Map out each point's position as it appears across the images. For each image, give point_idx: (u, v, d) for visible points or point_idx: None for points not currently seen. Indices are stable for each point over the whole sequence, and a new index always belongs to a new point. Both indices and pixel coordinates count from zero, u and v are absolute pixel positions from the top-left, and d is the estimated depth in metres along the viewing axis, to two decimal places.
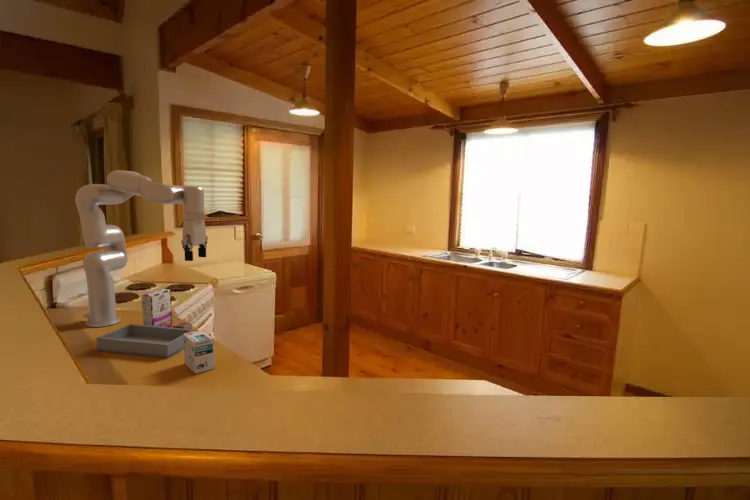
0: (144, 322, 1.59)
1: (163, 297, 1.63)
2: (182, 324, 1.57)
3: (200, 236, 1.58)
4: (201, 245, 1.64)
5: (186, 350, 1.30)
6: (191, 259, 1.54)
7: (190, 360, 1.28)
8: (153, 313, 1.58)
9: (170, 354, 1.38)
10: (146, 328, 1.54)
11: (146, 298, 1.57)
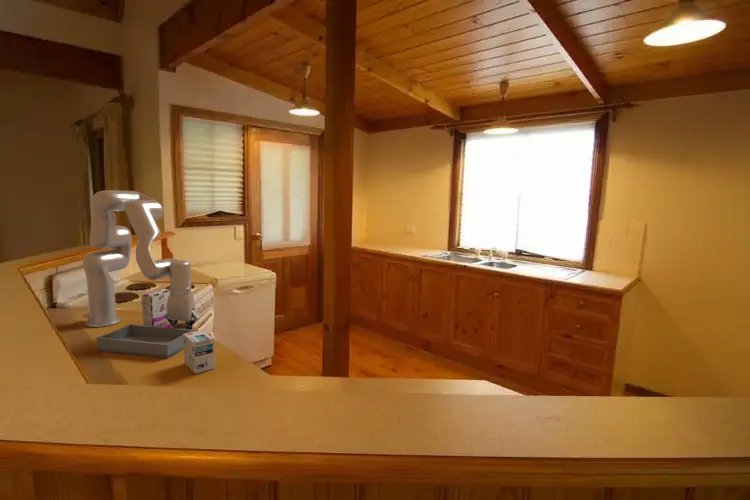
0: (144, 322, 1.59)
1: (163, 297, 1.63)
2: (182, 324, 1.57)
3: None
4: None
5: (186, 350, 1.30)
6: None
7: (190, 360, 1.28)
8: (153, 313, 1.58)
9: (170, 354, 1.38)
10: (146, 328, 1.54)
11: (146, 298, 1.57)
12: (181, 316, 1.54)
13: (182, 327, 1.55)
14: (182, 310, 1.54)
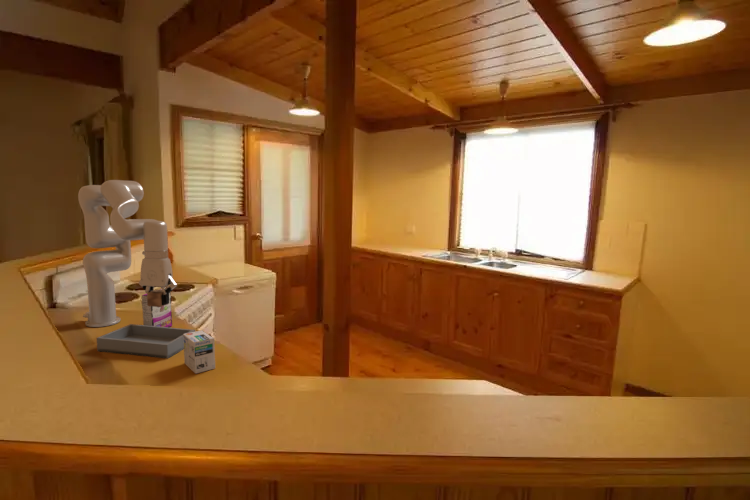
0: (144, 322, 1.59)
1: None
2: (158, 291, 1.43)
3: None
4: None
5: (186, 350, 1.30)
6: (168, 301, 1.44)
7: (190, 360, 1.28)
8: (153, 313, 1.58)
9: (170, 354, 1.38)
10: (146, 328, 1.54)
11: (146, 298, 1.57)
12: (156, 282, 1.39)
13: (158, 294, 1.40)
14: (157, 275, 1.39)
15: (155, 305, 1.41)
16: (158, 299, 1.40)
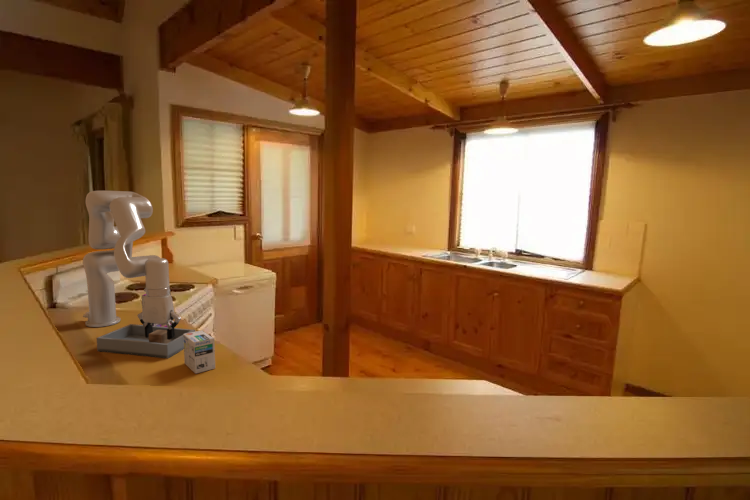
0: None
1: None
2: (159, 332, 1.45)
3: None
4: None
5: (186, 350, 1.30)
6: (173, 335, 1.46)
7: (190, 360, 1.28)
8: None
9: (170, 354, 1.38)
10: None
11: None
12: (158, 319, 1.41)
13: (159, 336, 1.42)
14: (159, 312, 1.41)
15: None
16: (160, 340, 1.43)
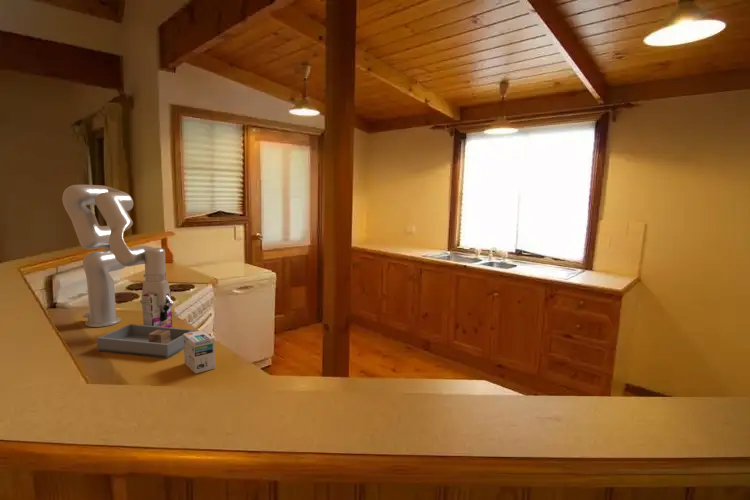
0: (144, 322, 1.59)
1: None
2: (159, 332, 1.45)
3: None
4: None
5: (186, 350, 1.30)
6: None
7: (190, 360, 1.28)
8: (153, 313, 1.58)
9: (170, 354, 1.38)
10: (146, 328, 1.54)
11: (146, 298, 1.57)
12: None
13: (159, 336, 1.42)
14: (157, 295, 1.59)
15: None
16: (160, 340, 1.43)
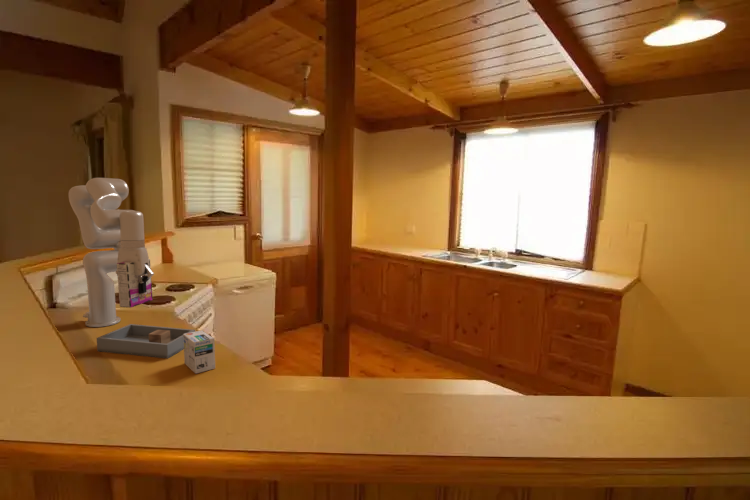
0: (120, 294, 1.41)
1: None
2: (159, 332, 1.45)
3: None
4: None
5: (186, 350, 1.30)
6: (145, 290, 1.47)
7: (190, 360, 1.28)
8: (129, 283, 1.41)
9: (170, 354, 1.38)
10: (146, 328, 1.54)
11: (122, 266, 1.40)
12: None
13: (159, 336, 1.42)
14: (134, 264, 1.42)
15: None
16: (160, 340, 1.43)
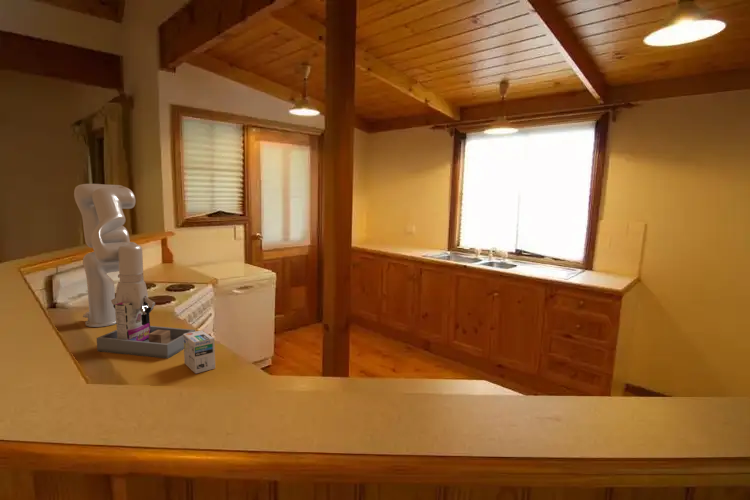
0: (118, 334, 1.42)
1: None
2: (159, 332, 1.45)
3: None
4: None
5: (186, 350, 1.30)
6: (148, 321, 1.47)
7: (190, 360, 1.28)
8: (128, 324, 1.41)
9: (170, 354, 1.38)
10: None
11: (120, 307, 1.40)
12: None
13: (159, 336, 1.42)
14: (132, 298, 1.42)
15: None
16: (160, 340, 1.43)
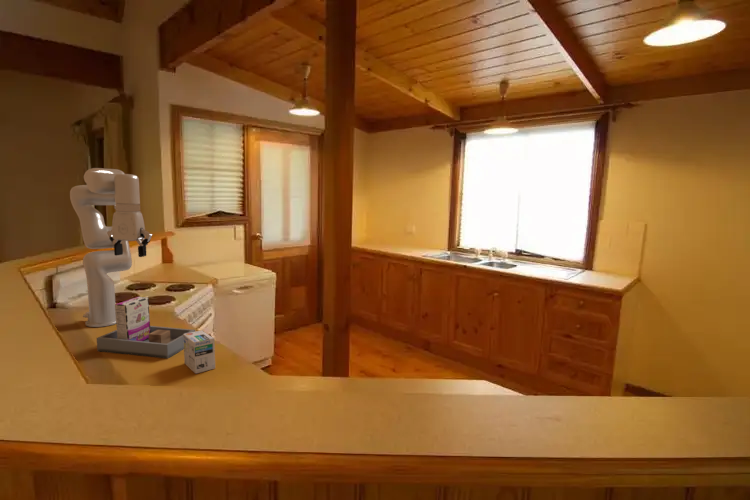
0: (118, 334, 1.42)
1: (140, 307, 1.46)
2: (159, 332, 1.45)
3: None
4: None
5: (186, 350, 1.30)
6: (145, 254, 1.43)
7: (190, 360, 1.28)
8: (128, 324, 1.41)
9: (170, 354, 1.38)
10: None
11: (120, 307, 1.40)
12: (128, 235, 1.39)
13: (159, 336, 1.42)
14: (129, 228, 1.38)
15: None
16: (160, 340, 1.43)
